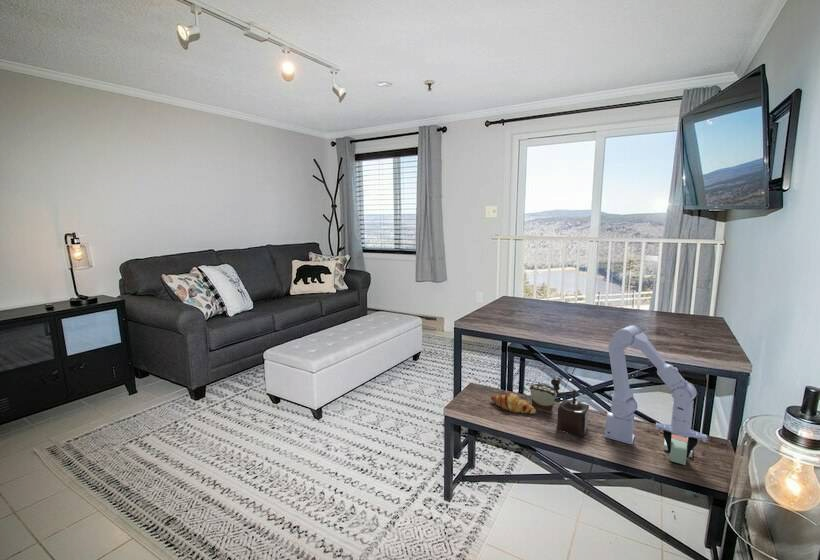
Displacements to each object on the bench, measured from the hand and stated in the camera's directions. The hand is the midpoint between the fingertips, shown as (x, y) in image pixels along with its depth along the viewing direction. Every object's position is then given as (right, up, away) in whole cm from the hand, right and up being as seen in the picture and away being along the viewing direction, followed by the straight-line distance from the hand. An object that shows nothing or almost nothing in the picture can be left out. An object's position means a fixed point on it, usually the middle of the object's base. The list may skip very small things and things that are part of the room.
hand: (677, 454), depth 136 cm
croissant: (-48, +3, +39) cm, 62 cm away
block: (0, -1, 0) cm, 1 cm away
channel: (+6, -1, +9) cm, 11 cm away
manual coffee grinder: (-30, +1, +23) cm, 38 cm away
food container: (-34, +3, +39) cm, 52 cm away
